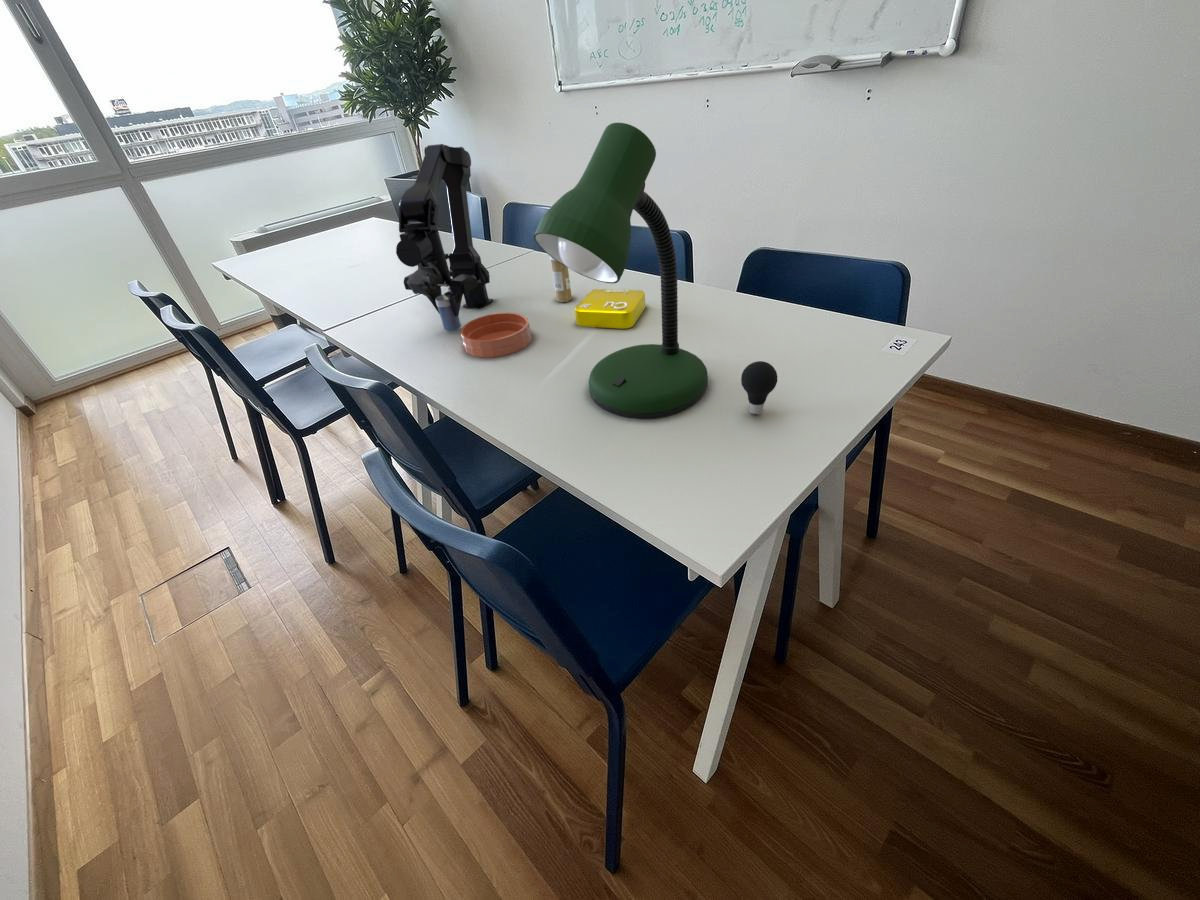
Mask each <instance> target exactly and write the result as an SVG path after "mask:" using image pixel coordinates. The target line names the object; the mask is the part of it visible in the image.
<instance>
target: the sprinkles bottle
mask: <svg viewBox="0 0 1200 900" xmlns="http://www.w3.org/2000/svg"><path fill="white" fill-rule="evenodd" d="M549 260H550V263H551V270H552V279H553V284H554V290H555V295H556V302H558V303H568V302H570V301H572V300H573V295H572V289H571V280H570V273H569V268H567V267H565V266H564V265H562V264H561V263H559V262H558V261H556V260H555V259H553V258H552V257H551V256H550V255H549Z"/></svg>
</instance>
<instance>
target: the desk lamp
mask: <svg viewBox="0 0 1200 900" xmlns="http://www.w3.org/2000/svg"><path fill="white" fill-rule="evenodd" d="M602 132H603V133H602V134H601V136H600V139H599V141H598V142H597V145H596V147H595V149H594V151H593V153H592V154H591V158H590V160H589V161H588V163H587V166H586V168H585V170H584V171H583V173H582V176H581V177H580V179H579V180H578V182H577V183H576V185H575V186H574V187H573V188H572V189H570V190H568V191H567V192H566V193H564V194H563V195H561V196H560V198H558V199H557V200H556V202H555V203H554V204H552V205H551V207H549V209H548V210H547V211H546V212H545V213H544V214H543V215H542V217H541V219H540V221H539V223H538V225H537V227H536V229H535V232H534V234H533V241H535V243H536V244H537V245H538V246H539V247H540V249H541V250H542V251H544V252H545V254H547V255H548V256H549V257H550V256H551V257H552V258H553V259H555V260H556V261H558V262H559V263H561V264H562V265H564V266H565V267H567V268H568V270H570V271H572V272H574V273H577V274H578V275H580V276H583V277H585V278H588V279H591V280H593V281H596V282H599V283H600V282H601V283H604V284H605V283H606V284H617V283H619V282H620V280H621V278H622V276H623V274H624V271H625V269H626V268H627V266H628V260H629V254H630V253H629V252H630V247H631V239H632V238H631V237H632V223H631V218H632V214H633V211H635V212H636V213H637V214H638V215H639V216H640V217H641V218H642V219H643V221H644V222H645V224H646V225H647V228H648V229H649V231H650V233H651V236H652V238H653V241H654V245H655V249H656V252H657V257H658V264H659V271H660V272H659V273H660V274H659V275H660V305H661V340H662V343H661V344H658V343H657V344H655V343H650V344H649V343H647V344H637V345H632V346H628V347H624V348H621V349H619V350H616V351H614V352H611V353H610V354H608V355H606V356H605V357H603V358H602V359H600V360H599V361H598V362H597V363H596V364H595V365H594V367H593V368H592V370H591V371H590V372H589V373H590V374H589V378H588V389H589V394H590V397H591V399H592V400H593V402H594V403H595V404H597V405H598V406H599V407H600V408H602V409H603V410H606V411H607V412H609V413H612V414H615V415H617V416H621V417H626V418H630V419H639V420H640V419H641V420H648V419H649V420H651V419H653V420H655V419H661V418H665V417H670V416H673V415H677V414H679V413H681V412H683V411H685V410H687V409H689V408H691V407H692V406H694V405H695V404H697V403H698V402H699V401H700V400H701V399H702V398H703V397H704V396H705V394H706V392H707V390H708V381H709V376H708V369H707V366H706V365H705V363H704V362H703V360H702V359H701V358H700V357H698V356H697V355H696V354H694V353H692V352H690V351H688V350H685V349H683V348H681V347H680V344H679V337H678V336H679V334H678V333H679V330H678V329H679V323H678V322H679V321H678V320H679V319H678V317H679V316H678V314H679V313H678V311H679V310H678V306H679V302H678V301H679V299H678V266H677V257H676V249H675V245H674V240H673V237H672V233H671V229H670V227H669V224H668V221H667V219H666V216H665V215H664V213H663V211H662V210H661V208H660V207H659V205H658V204H657V203H656V201H655V200H654V199H653V198H652V197H651V196H650V195H649V194H648V193H647V192H646V191H645V188H646V180H647V178H648V176H649V174H650V172H651V170H652V167H653V166H654V163H655V161H656V159H657V158H656V157H657V152H656V147H655V145H654V143H653V142H652V141H651V139H650V138H649V137H648V135H646V133H645V132H643V131H642V130H641V129H639V128H637V127H636V126H634V125H632V124H630V123H629V124H628V123H625V122H612V123H610V124H608V125H606V127H605V129H604V131H602Z"/></svg>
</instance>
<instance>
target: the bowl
mask: <svg viewBox="0 0 1200 900" xmlns="http://www.w3.org/2000/svg"><path fill="white" fill-rule="evenodd" d="M460 336H461V340H462V344H463V348H464V351H465V352H466V354H468V355H470V356H473V357H476V358H481V359H488V358H489V359H490V358H499V357H504V356H505V357H506V356H508V355H511V354H514V353H517V352H519V351H521V350H523V349H525V348H526V347H527V346H528V345H530V343H531V341H532V339H533V337H532V332H531V327H530V321H529V318H528V317H526V316H525V315H524V314H520V313H517V312H496V313H490V314H486V315H483V316H480V317H477V318H474V319H472V320H470V321H469V322H467V323H465V324H464V325H463V326H462V328H460Z"/></svg>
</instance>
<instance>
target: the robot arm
mask: <svg viewBox="0 0 1200 900" xmlns="http://www.w3.org/2000/svg"><path fill="white" fill-rule="evenodd" d="M423 151H424V152H423V153H424V156H423V159H422V162H421V164H420V168H419V170H418V173H417V176H416V179H415V181H414V184H413V185H412V186H410V187H409V188H408V189H406V190H405V191H404V193H403V195H402V196H401V198H400V201H399V206H398V231H399V232H398V233H399V238H400V241H398V243H397V244H396V247H395V254H396V256H397V259H398V260H399V261H400V262H401V263H402V264H403V265H405V266H407V267H410V268H414V267H417V270H415V271H414V272H412V273H410V274H408V275H406V276H404V278H403V281H402V282H403V283H402V284H403V285H404V288H405V290H407V291H411V292H412V293H413V294H414V295H423V296H425V297H426V298H427V299H428V300H429V302H430V303H431V304H432V306H433V307H434V309H435V310H436V311H437V313H438V314H439V315H440V313H439V310H438V306H437V305H436V301H435V298H436V297H438V296H440V295H445V296H446V297H448V298H449V301H450V304H451V307H452V310H453V313H454V315H455V317H457V316H459V317H460V310H461V305H462V301H463V297H464V302H465V303H464V304H463V305H462V307H463V308H464V309H465V308H466V309H477V310H478V309H479V310H481V309H483V308H484V307H486V306H488V305H490V304H491V303H493V301H494V299H493V298H489V295H488V290H487V286H486V285H487V284H489V283H491V281H490V280H491V279H490V277H491V276H490V271H489V270H488V269H487V267H485V265H484V264H483V263H482V258H481V255H480V254H479V253H478V252H477V250H476V248H475V247H474V243H473V235H472V227H471V226H472V225H471V219H470V211H469V202H468V194H467V186H468V183H469V181H470V179H471V176H472V174H471V171H472V170H471V166H472V158H471V155H470V153H469V151H467V150H466V149H465V148H464V147H463V146H455V147H454V146H449V145H447V144H443V143H440V144H439V143H438V144H429V145H428V144H427V146H425V147H424V150H423ZM441 182H443V183H444V185H445V187H446V192H447V199H448V207H449V214H450V221H451V230H452V237H453V245H454V247H453V250H452V252H451V253H445V251H444V247H443V244H442V240H441V236H440V232H439V228H440V227H441V224H440V223H439V222H438V215H439V207H440V205H439V203H438V200H437V195H438V190H439V188H440V184H441ZM447 260H448V261H449V265H448V261H447ZM442 287H446V288H447V290H448V291H446V292H445V293H443V292H442ZM442 293H443V294H442Z"/></svg>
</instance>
